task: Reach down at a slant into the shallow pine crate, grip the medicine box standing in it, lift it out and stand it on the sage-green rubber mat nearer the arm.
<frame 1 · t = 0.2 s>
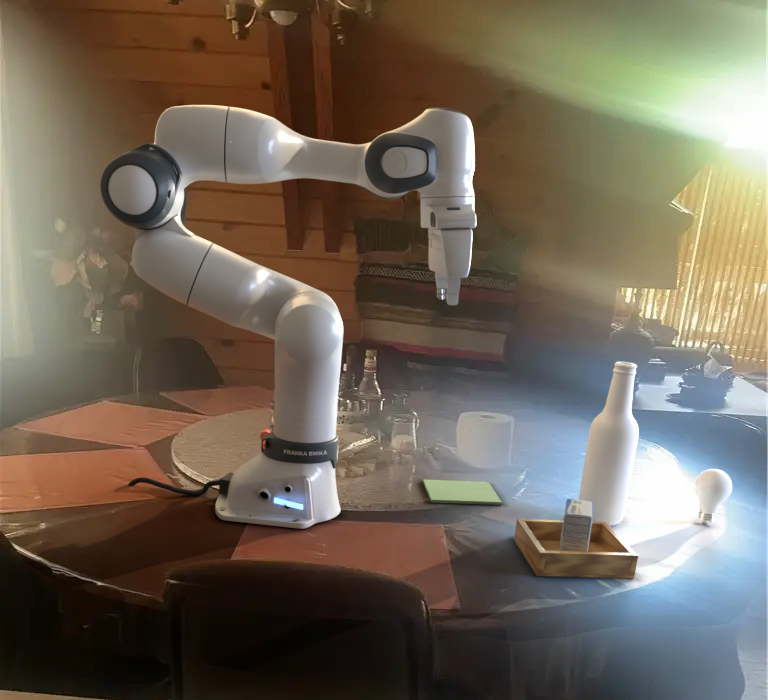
hand: (447, 301, 129), 39 cm above the table, tool pointing down, fingers open, 8 cm apart
crate: (571, 558, 126), on the table
medicine box: (571, 556, 126), resting on crate
mat: (460, 493, 153), on the table
light bulb: (704, 524, 147), on the table
alcohol: (599, 518, 145), on the table
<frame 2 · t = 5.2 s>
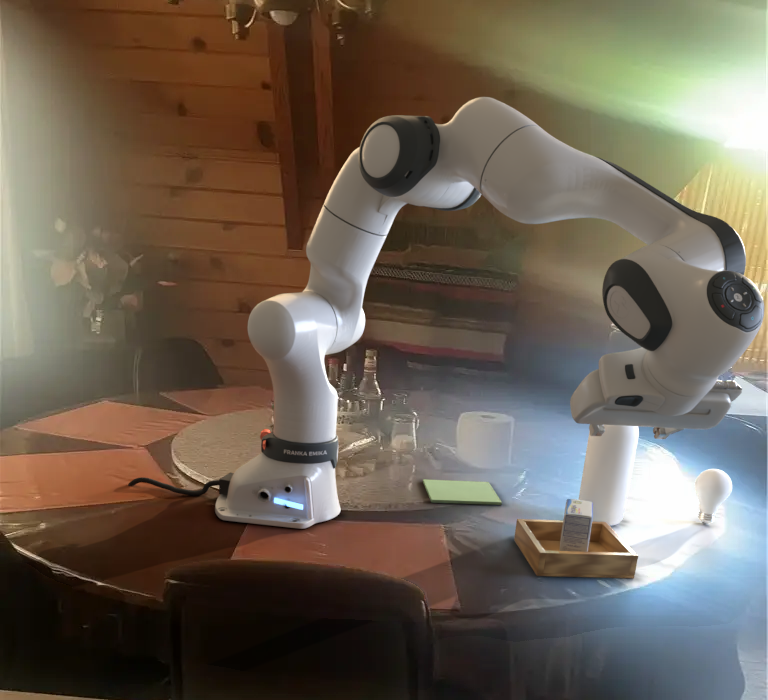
hand: (626, 433, 107), 25 cm above the table, tool tilted 45°, fingers open, 8 cm apart
nothing on the table moved.
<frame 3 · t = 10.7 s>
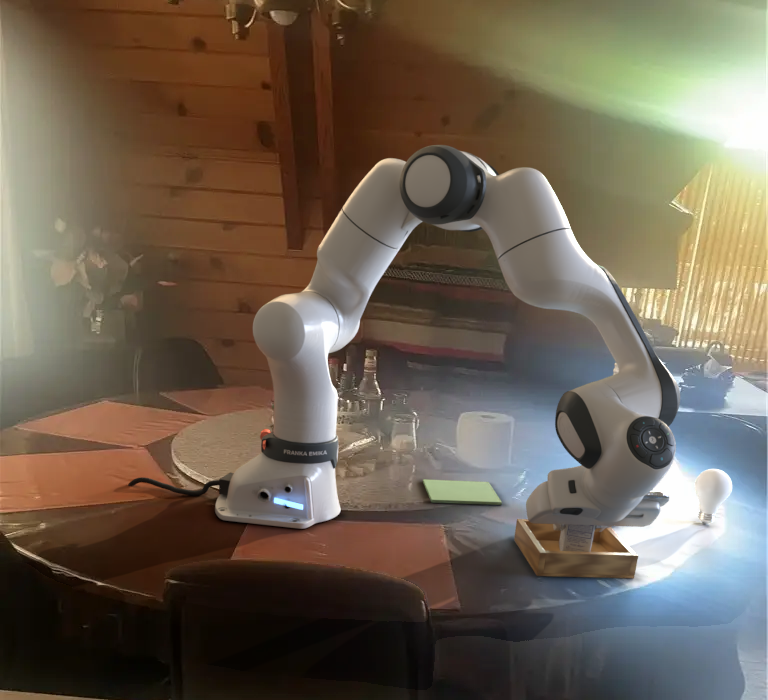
hand: (576, 526, 125), 6 cm above the table, tool tilted 45°, fingers closed on medicine box, 5 cm apart
medicine box: (571, 556, 126), resting on crate, touching gripper
everything else where it was.
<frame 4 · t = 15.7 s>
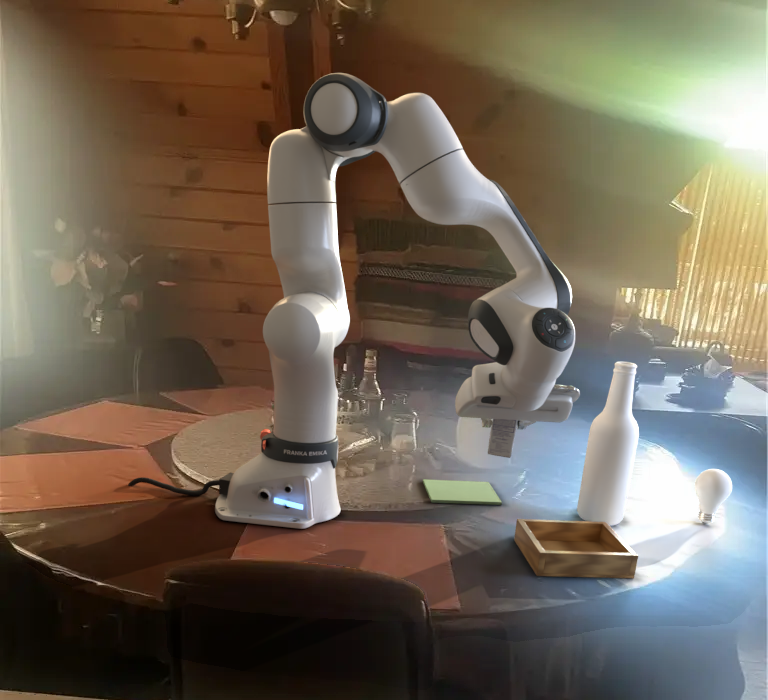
hand: (502, 425, 139), 17 cm above the table, tool tilted 45°, fingers closed on medicine box, 5 cm apart
medicine box: (499, 452, 140), point 12 cm above the table, touching gripper
everything else where it was.
when the fingers open (5 cm above the table, at t = 20.8 s): medicine box stays where it is, resting on mat.
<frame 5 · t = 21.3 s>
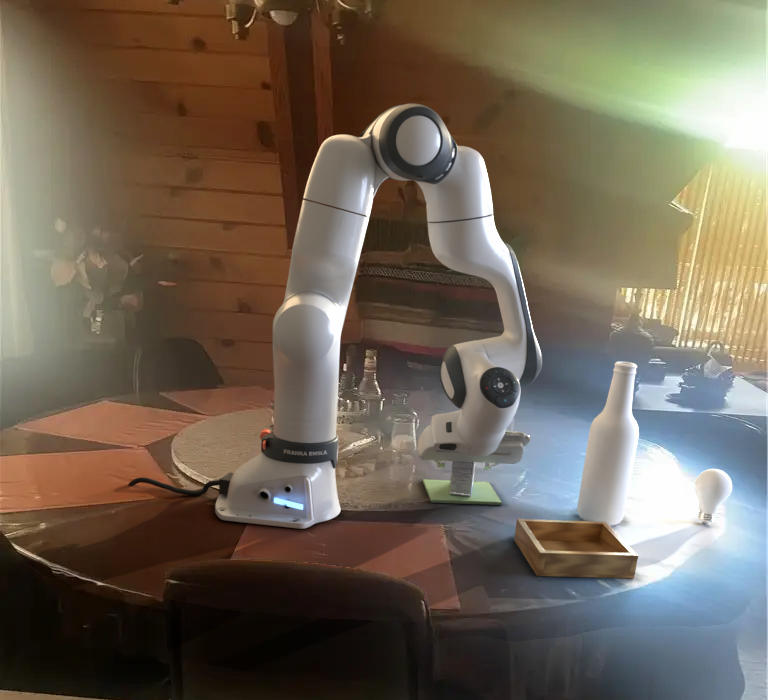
hand: (463, 465, 152), 6 cm above the table, tool tilted 45°, fingers open, 8 cm apart
medicine box: (460, 490, 153), resting on mat
everything else where it was.
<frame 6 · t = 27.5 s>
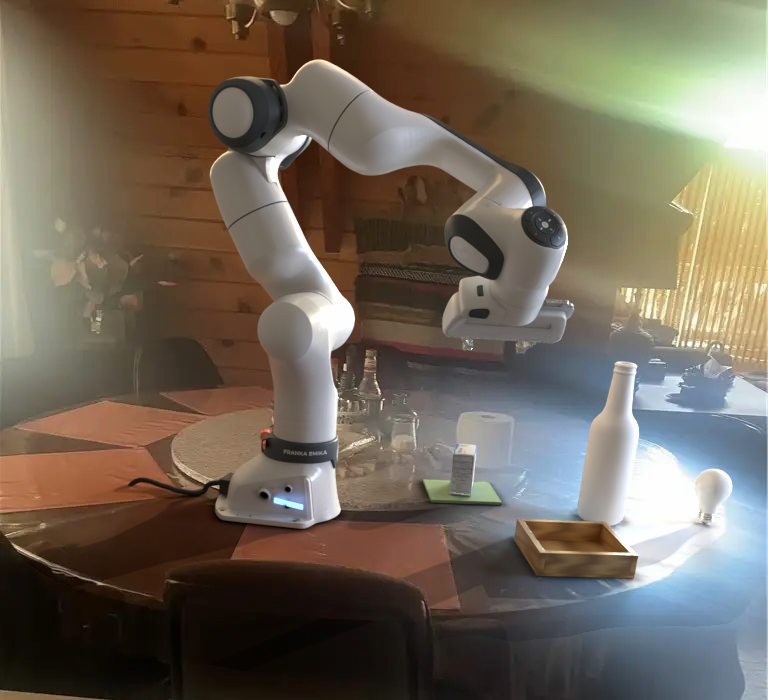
hand: (493, 349, 132), 31 cm above the table, tool tilted 45°, fingers open, 8 cm apart
nothing on the table moved.
at the end: medicine box inside the target area on the mat (0.3 cm from its centre), point 0.4 cm above the mat's base; medicine box tilted 0°; medicine box touching mat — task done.
